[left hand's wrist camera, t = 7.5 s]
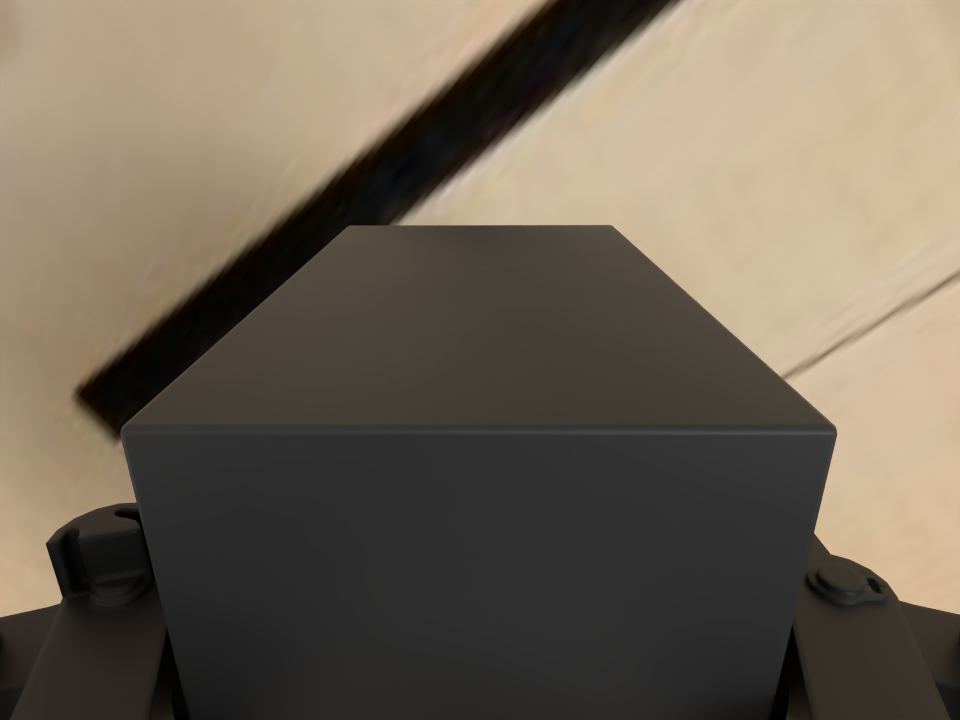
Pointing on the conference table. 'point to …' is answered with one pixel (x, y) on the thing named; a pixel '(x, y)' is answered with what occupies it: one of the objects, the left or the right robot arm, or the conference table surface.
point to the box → (479, 491)
